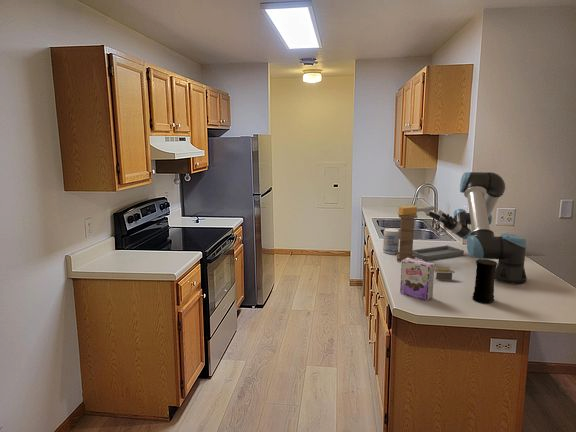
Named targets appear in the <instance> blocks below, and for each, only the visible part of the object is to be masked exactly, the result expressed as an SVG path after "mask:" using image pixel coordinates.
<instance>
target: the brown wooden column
mask: <svg viewBox="0 0 576 432" xmlns="http://www.w3.org/2000/svg"><path fill="white" fill-rule="evenodd" d="M398 213H399V211H398ZM398 213H397V214H398ZM398 218H400V228H399V250H398V253H397V254H395V255H396V257H397V258H396V257H395V258H396V262H397V261H402V260H403V259H406V258H411V259H415V260H416V257H414V255H412V251H413V250H414V248H413V247H414V230H415V228H414V226H415V219H418V214H408V215H401V214H398Z"/></svg>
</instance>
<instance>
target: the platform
mask: <svg viewBox="0 0 576 432" xmlns="http://www.w3.org/2000/svg"><path fill="white" fill-rule="evenodd" d="M435 273H436V274H435ZM455 273H456V272H455V270H452V269H451V268H450V267H448V266H446V267H443V266H437V269H435V268H434V274H435V280H436V279H442V281H445V280H446V281H447V280H448V281H453V274H455ZM443 279H444V280H443Z"/></svg>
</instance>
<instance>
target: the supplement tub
mask: <svg viewBox="0 0 576 432" xmlns="http://www.w3.org/2000/svg"><path fill="white" fill-rule="evenodd" d="M382 245H383V247H382V248H383V249H382V251H383V253H384V254H387V253H388V254H387V255H396V253H397V254H399V248H400V229H397V228H385V229H384V231H383V243H382Z"/></svg>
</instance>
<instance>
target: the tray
mask: <svg viewBox="0 0 576 432" xmlns="http://www.w3.org/2000/svg"><path fill="white" fill-rule="evenodd" d="M412 255H414V258H416V257H417V258H416V259H418V260H421V259H422V260H421V261H424V262H428V261H437V260H440V259H441V260H442V259H448V258H455V257H461V256H464V255H465V250H463V249H459V248H458V247H454V246H451V245H448V244H447V245H440V246H434V247H433V246H432V247H425V248H418V249H417V248H416V249H413V251H412Z"/></svg>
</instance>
